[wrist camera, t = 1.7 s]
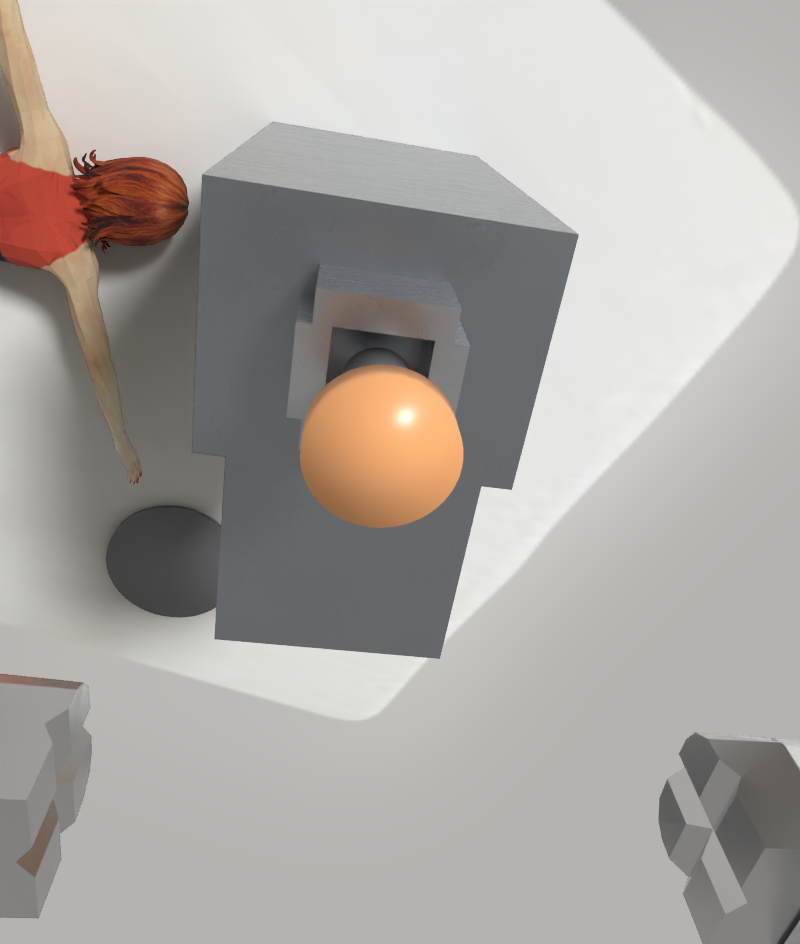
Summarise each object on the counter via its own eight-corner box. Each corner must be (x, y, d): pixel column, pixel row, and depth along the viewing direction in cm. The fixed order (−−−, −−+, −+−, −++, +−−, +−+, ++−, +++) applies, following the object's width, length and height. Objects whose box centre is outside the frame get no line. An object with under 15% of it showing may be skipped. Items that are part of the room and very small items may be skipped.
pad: (110, 605, 49) (107, 611, 49) (107, 498, 45) (104, 504, 45) (235, 616, 50) (234, 622, 50) (243, 513, 46) (242, 518, 46)
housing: (250, 412, 43) (170, 689, 24) (272, 121, 36) (182, 188, 17) (423, 433, 44) (476, 712, 25) (477, 156, 37) (605, 255, 18)
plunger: (304, 431, 20) (292, 518, 16) (318, 307, 19) (308, 371, 15) (429, 446, 21) (447, 535, 17) (453, 326, 19) (478, 394, 15)
